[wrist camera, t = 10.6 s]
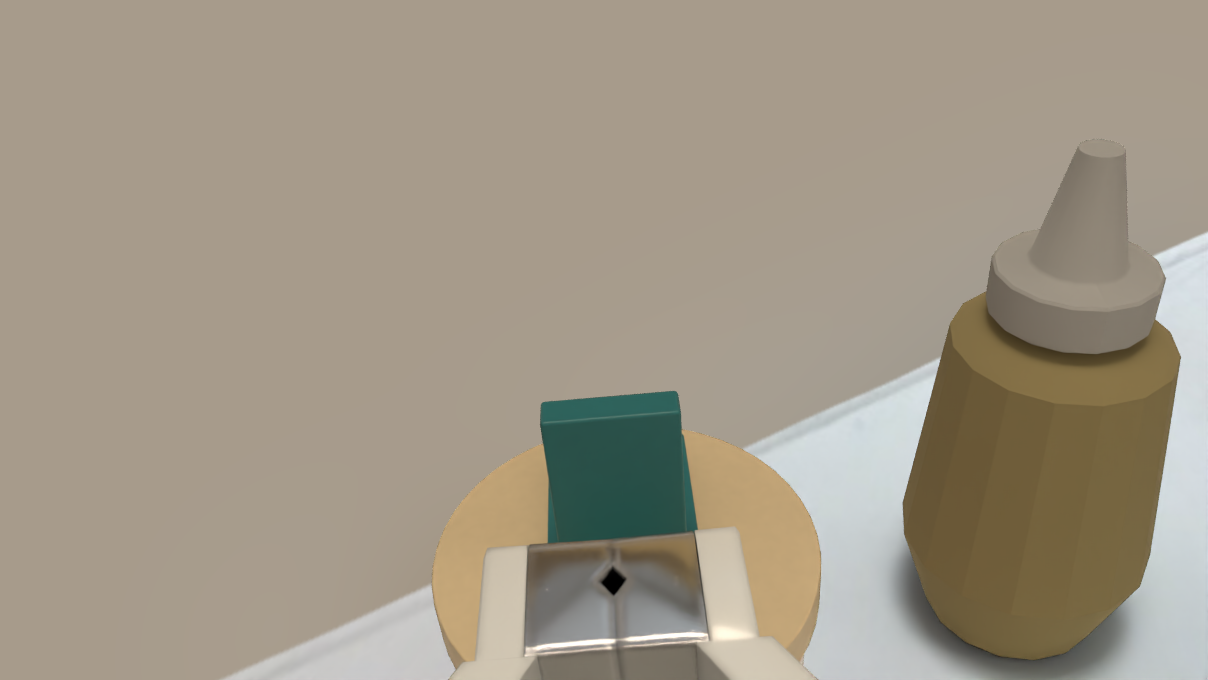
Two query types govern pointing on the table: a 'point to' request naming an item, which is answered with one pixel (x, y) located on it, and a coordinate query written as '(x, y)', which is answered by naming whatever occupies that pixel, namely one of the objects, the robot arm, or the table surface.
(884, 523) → the table surface
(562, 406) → the teal l-shaped bracket
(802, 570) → the cup lid
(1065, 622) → the squeeze bottle
